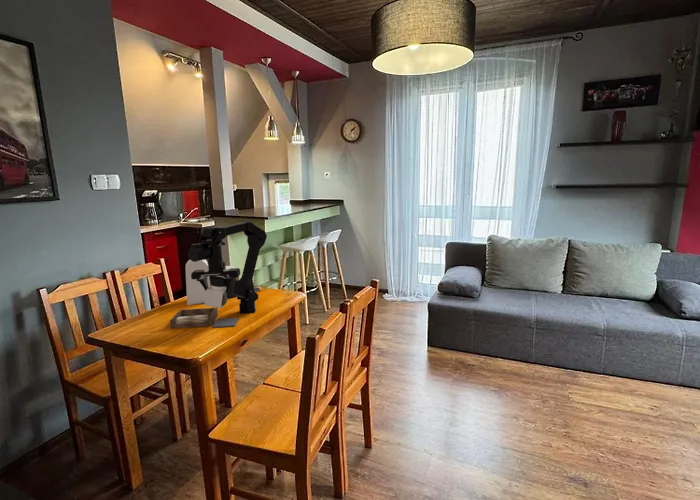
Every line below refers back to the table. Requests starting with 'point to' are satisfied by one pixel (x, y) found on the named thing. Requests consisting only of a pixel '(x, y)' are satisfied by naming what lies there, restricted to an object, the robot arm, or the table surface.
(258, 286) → the house of cards
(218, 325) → the rubber mat
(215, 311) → the walnut rack
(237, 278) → the jar
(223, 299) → the medicine bottle
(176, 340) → the table surface
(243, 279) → the robot arm
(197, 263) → the milk
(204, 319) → the offcut stack
